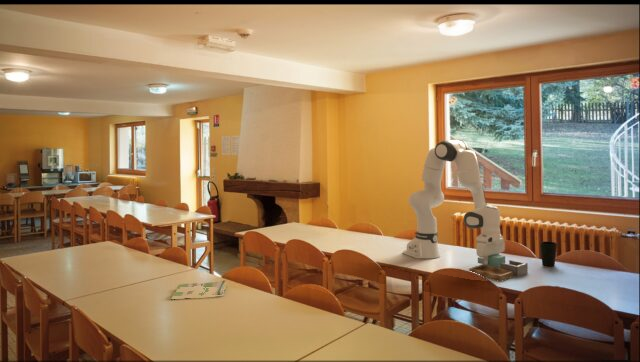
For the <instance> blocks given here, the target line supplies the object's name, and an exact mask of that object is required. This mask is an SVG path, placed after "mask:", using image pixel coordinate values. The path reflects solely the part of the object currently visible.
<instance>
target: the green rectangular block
mask: <svg viewBox="0 0 640 362" xmlns="http://www.w3.org/2000/svg"><path fill="white" fill-rule="evenodd" d="M487 259H488V261H489V264H484V259H483V257H479V256H477V264H479V265H482V264H483V265H487V266H491V267H496V268H500V263H505V264H506V256H505V255H502V254H499V255H497V254H493V255H490V256H488V258H487Z"/></svg>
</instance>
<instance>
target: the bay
mask: <svg viewBox="0 0 640 362" xmlns="http://www.w3.org/2000/svg"><path fill="white" fill-rule="evenodd" d="M508 261H509V262H508V263H506V262H505V263H500V269H504V270H509V271H513V272H514V277H516V276H517V277H516V278H519V277H521V275H522V276H524V275H526V273H527V274H528V273H529V272H528V271H529V270H528V269H529V268H528V266H529V265H528V262H522V261H517V260H513V259H509V260H508ZM518 276H519V277H518Z"/></svg>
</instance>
